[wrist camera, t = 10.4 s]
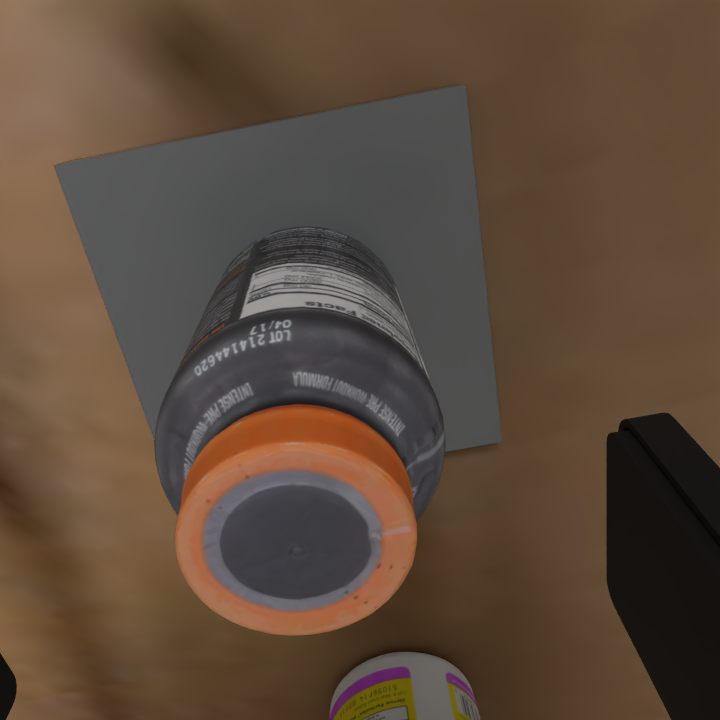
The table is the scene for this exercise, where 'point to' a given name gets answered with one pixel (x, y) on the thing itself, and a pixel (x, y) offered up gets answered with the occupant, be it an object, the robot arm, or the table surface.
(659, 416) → the robot arm
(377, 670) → the supplement bottle
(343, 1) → the table surface
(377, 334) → the pill bottle
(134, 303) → the plate
